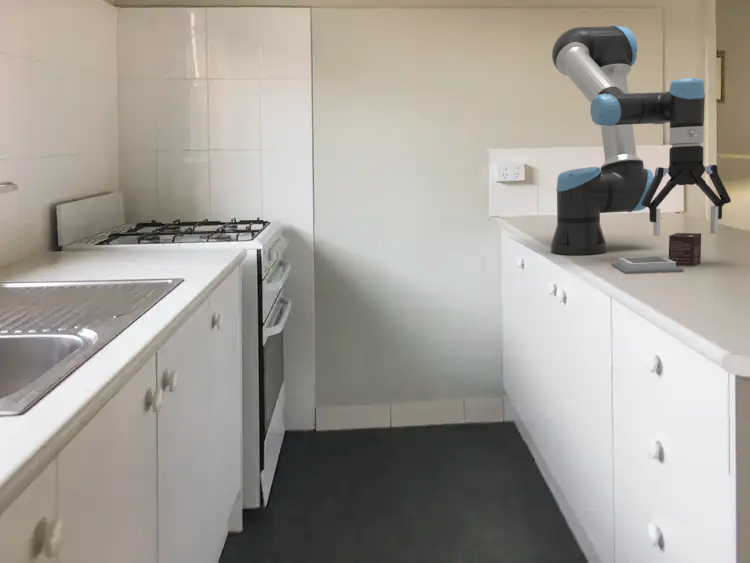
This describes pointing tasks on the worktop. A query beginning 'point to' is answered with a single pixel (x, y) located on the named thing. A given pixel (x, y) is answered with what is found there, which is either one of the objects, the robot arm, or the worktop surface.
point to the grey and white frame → (646, 265)
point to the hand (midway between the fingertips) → (685, 234)
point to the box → (685, 248)
